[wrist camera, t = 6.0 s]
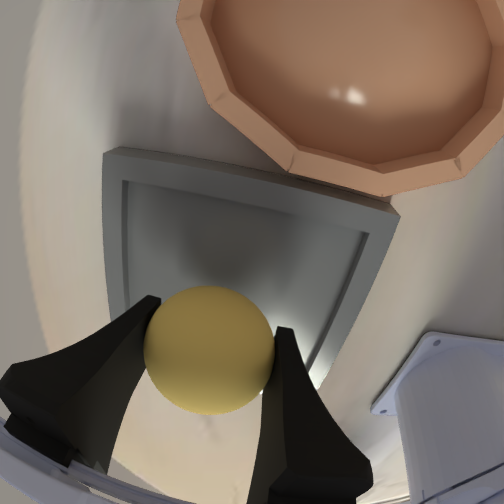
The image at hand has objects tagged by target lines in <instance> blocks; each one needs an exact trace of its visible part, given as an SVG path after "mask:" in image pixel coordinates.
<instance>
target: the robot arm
mask: <svg viewBox="0 0 504 504" xmlns="http://www.w3.org/2000/svg"><path fill="white" fill-rule="evenodd" d="M160 306H161V298H159V297H156V296H152V295H146V296H145V297H144V298H142V299H141V300H140V301H139V302H137V303H136V304H135V305H133V306H132V307H131V308H130V309H128V310H127V311H126V312H124V313H123V314H122V315H120V316H119V317H117V318H116V319H115V320H113V321H112V322H110V323H109V324H107V325H106V326H104V327H103V328H101V329H100V330H98V331H97V332H95V333H94V334H92V335H90V336H88V337H87V338H85V339H83V340H81V341H79V342H77V343H75V344H73V345H71V346H69V347H66V348H64V349H62V350H59V351H57V352H54V353H52V354H49V355H46V356H43V357H40V358H36V359H32V360H28V361H24V362H19V363H15V364H12V365H11V366H10V368H9V369H8V370H7V371H6V373H5V374H4V375H3V377H2V378H1V380H0V398H1V399H2V401H3V402H4V404H5V405H6V407H7V408H8V409H9V411H10V412H11V415H10V416H9V418H8V420H7V421H6V420H4V419H3V418H1V417H0V477H1V478H2V479H4V480H5V481H6V482H8V483H9V484H10V485H12V486H13V487H15V488H16V489H18V490H19V491H21V492H22V493H24V494H25V495H27V496H29V497H30V498H31V499H33V500H35V501H36V502H38V503H40V504H119V503H116V502H113V501H111V500H108V499H106V498H103V497H101V496H98V495H96V494H93V493H92V492H90V490H89V488H88V487H86V486H85V485H87V486H89V487H91V488H94V489H96V490H98V491H101V492H103V493H105V494H108V495H110V496H113V497H115V498H118V499H120V500H123V501H126V502H128V503H131V504H195V503H191V502H187V501H183V500H179V499H176V498H172V497H168V496H165V495H162V494H158V493H155V492H151V491H149V490H146V489H143V488H139V487H137V486H134V485H131V484H128V483H126V482H123V481H120V480H118V479H115V478H112V477H110V476H108V475H107V472H108V468H109V464H110V460H111V456H112V452H113V449H114V445H115V442H116V438H117V435H118V432H119V429H120V426H121V423H122V420H123V417H124V414H125V411H126V409H127V406H128V403H129V400H130V398H131V396H132V394H133V391H134V389H135V388H136V386H137V384H138V382H139V380H140V378H141V376H142V374H143V372H144V370H145V369H146V365H145V360H144V352H143V348H144V337H145V333H146V329H147V326H148V324H149V322H150V320H151V318H152V316H153V315H154V313H155V312H156V310H157V309H158V308H159V307H160ZM436 340H437V341H436ZM274 342H275V358H274V364H273V369H272V372H271V375H270V378H269V380H268V382H267V383H266V385H265V387H264V388H263V393H262V414H261V429H260V437H259V443H258V449H257V454H256V460H255V465H254V471H253V476H252V481H251V485H250V490H249V495H248V499H247V503H246V504H356V498H357V497H358V496H360V495H362V494H363V493H365V492H367V491H368V490H369V489H370V488H371V487H372V486H373V484H374V483H373V473H372V468H371V464H370V460H369V459H368V458H367V457H366V456H365V455H364V454H363V453H362V452H361V451H360V450H359V449H358V448H357V447H356V446H355V445H354V444H353V443H352V442H351V441H350V440H349V439H348V437H347V436H346V435H345V434H344V433H343V431H342V430H341V429H340V427H339V426H338V425H337V423H336V422H335V421H334V419H333V418H332V416H331V415H330V413H329V412H328V410H327V409H326V407H325V405H324V404H323V402H322V400H321V398H320V397H319V395H318V393H317V391H316V389H315V387H314V385H313V383H312V381H311V378H310V376H309V374H308V372H307V369H306V367H305V364H304V361H303V359H302V356H301V353H300V350H299V347H298V344H297V341H296V337H295V333H294V330H293V329H292V328H287V327H282V326H277V329H276V332H275V335H274ZM370 412H371V414H373V415H390V416H397V417H398V423H399V428H400V433H401V439H402V445H403V451H404V457H405V463H406V470H407V478H408V485H409V494H410V502H411V504H504V341H499V340H490V339H483V338H475V337H468V336H460V335H453V334H447V333H440V332H427V333H426V334H424V336H423V337H422V338H421V340H420V341H419V343H418V344H417V346H416V347H415V349H414V350H413V352H412V353H411V355H410V356H409V357H408V359H407V360H406V362H405V363H404V365H403V366H402V367H401V369H400V370H399V371H398V373H397V374H396V376H395V377H394V378H393V380H392V381H391V382H390V384H389V385H388V386H387V387H386V389H385V390H384V391H383V393H382V394H381V395H380V396H379V398H378V399H377V400H376V401H375V403H374V404H373V405H372V406H371V408H370ZM78 481H79V482H81V483H83V484H85V485H83V484H81V483H79V482H78Z"/></svg>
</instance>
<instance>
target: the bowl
mask: <svg viewBox="0 0 504 504" xmlns="http://www.w3.org/2000/svg"><path fill="white" fill-rule="evenodd" d="M176 20H178V21H176V23H177V25H178V28H179V30H180V33H181V36H182V38H183V41H184V43H185V46H186V48H187V51H188V54H189V56H190V59H191V61H192V64H193V66H194V69H195V72H196V74H197V77H198V79H199V82H200V84H201V87H202V90H203V92H204V95H205V97H206V100H207V103H208V105H211V106H210V107H211V108H212V109H213V110H214V111H216V112H217V113H218V114H219V115H221V116H222V117H223V118H224V119H226V120H227V121H228V122H229V123H231V124H232V125H233V126H234V127H235V128H237V129H238V130H239V131H240V132H241V133H243V134H244V135H245V136H246V137H247V138H249V139H250V140H251V141H252V142H253V143H255V144H256V145H257V146H258V147H259V148H260V149H262V150H263V151H264V152H265V153H266V154H267V155H268V156H270V157H271V158H272V159H273V160H274V161H275V162H276V163H278V164H279V165H280V166H281V167H282V168H283V169H284V170H285V171H287V170H288V169H289V171H288V172H289V173H293V174H297V175H301V176H305V177H309V178H313V179H317V180H321V181H325V182H329V183H333V184H337V185H340V186H344V187H348V188H351V189H355V190H358V191H362V192H365V193H369V194H372V195H376V196H379V197H381V196H383V197H386V196H390V195H394V194H398V193H402V192H406V191H410V190H415V189H419V188H423V187H427V186H431V185H435V184H440V183H444V182H448V181H452V180H457V179H461V178H462V177H465V176H466V175H467V174H468V173H469V172H470V171H471V169H472V168H473V167H474V166H475V165H476V164H477V163H478V162H479V161H480V160H481V159H482V158H483V157H484V156H485V155H486V154H487V153H488V152H489V151H490V149H491V148H492V147H493V146H494V145H495V144H496V143H497V142H498V141H499V140H500V139H501V137H502V136H503V135H504V0H180V3H179V8H178V12H177V16H176Z"/></svg>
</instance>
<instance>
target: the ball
mask: <svg viewBox="0 0 504 504" xmlns="http://www.w3.org/2000/svg"><path fill="white" fill-rule="evenodd" d="M143 352H144V360H145V365H146V368H147V371H148V374H149V376H150V378H151V380H152V382H153V383H154V385H155V386H156V388H157V389H158V390H159V391H160V392H161V394H162V395H163V396H164V397H165V398H167V399H168V400H169V401H171V402H172V403H173V404H175V405H176V406H178V407H180V408H182V409H184V410H187V411H190V412H193V413H197V414H204V415H217V414H224V413H228V412H231V411H234V410H237V409H239V408H241V407H243V406H245V405H246V404H248V403H249V402H250V401H252V400H253V399H254V398H255V397H256V396H257V395H258V394H259V393H260V392H261V391H262V390H263V388H264V387H265V385H266V383H267V382H268V380H269V378H270V375H271V372H272V369H273V364H274V358H275V342H274V336H273V333H272V330H271V327H270V325H269V323H268V321H267V319H266V318H265V316H264V315H263V313H262V312H261V310H260V309H259V308H258V307H257V306H256V305H255V304H254V303H253V302H252V301H250V300H249V299H248V298H246V297H245V296H243V295H242V294H240V293H238V292H236V291H233V290H231V289H228V288H225V287H220V286H196V287H192V288H188V289H185V290H183V291H180V292H178V293H176V294H175V295H173V296H172V297H170V298H168V299H167V300H166V301H165V302H164V303H163V304H162V305H161V306H160V307H159V308H158V309H157V310H156V312H155V313H154V315H153V316H152V318H151V320H150V322H149V324H148V326H147V329H146V333H145V337H144V348H143Z"/></svg>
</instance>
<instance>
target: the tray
mask: <svg viewBox="0 0 504 504" xmlns="http://www.w3.org/2000/svg"><path fill="white" fill-rule="evenodd" d="M400 217H401V216H400V215H399V214H398V213H397V211H396V210H395V209H394V208H393V206H392V205H391V204H389V203H385V202H382V201H379V200H375V199H372V198H368V197H365V196H361V195H358V194H354V193H351V192H347V191H343V190H339V189H336V188H332V187H328V186H324V185H320V184H316V183H312V182H308V181H304V180H300V179H296V178H292V177H287V176H283V175H279V174H274V173H270V172H265V171H261V170H256V169H251V168H246V167H241V166H236V165H231V164H226V163H221V162H216V161H210V160H205V159H199V158H193V157H187V156H181V155H175V154H169V153H162V152H155V151H148V150H141V149H133V148H126V147H117V148H115V149H112V150H110V151H107V152H105V153H103V163H102V223H103V245H104V261H105V273H106V284H107V294H108V302H109V310H110V318H111V322H112V321H113V320H115V319H116V318H117V317H119V316H120V315H122V314H123V313H124V312H126V311H127V310H128V309H130V308H131V307H132V306H133V305H135V304H136V303H137V302H139V301H140V300H141V299H142V298H144V297H145V296H146V295H152V296H156V297H159V298H161V305H162V304H163V303H164V302H165V301H166V300H167V299H168V298H170V297H172V296H173V295H175V294H176V293H178V292H180V291H183V290H185V289H188V288H192V287H196V286H220V287H225V288H228V289H231V290H233V291H236V292H238V293H240V294H242V295H243V296H245V297H246V298H248V299H249V300H250V301H252V302H253V303H254V304H255V305H256V306H257V307H258V308H259V309H260V310H261V312H262V313H263V315H264V316H265V318H266V319H267V321H268V323H269V325H270V327H271V330H272V333H273V336H274V335H275V332H276V329H277V326H282V327H287V328H292V329H293V330H294V333H295V337H296V341H297V344H298V347H299V350H300V353H301V356H302V359H303V361H304V364H305V367H306V369H307V372H308V374H309V376H310V378H311V381H312V383H313V385H314V387H315V389H316V391H317V390H318V388H319V387H320V385H321V383H322V382H323V380H324V378H325V376H326V375H327V373H328V371H329V369H330V368H331V366H332V364H333V362H334V360H335V359H336V357H337V355H338V353H339V351H340V349H341V348H342V346H343V344H344V342H345V340H346V338H347V336H348V334H349V332H350V330H351V328H352V326H353V324H354V322H355V320H356V318H357V316H358V314H359V312H360V310H361V308H362V306H363V304H364V302H365V300H366V298H367V295H368V293H369V291H370V289H371V287H372V285H373V282H374V280H375V278H376V276H377V273H378V271H379V269H380V267H381V264H382V262H383V260H384V257H385V255H386V252H387V250H388V248H389V245H390V243H391V240H392V238H393V235H394V233H395V230H396V227H397V225H398V222H399V220H400ZM262 393H263V390H262V391H261V392H260V393H259V394H262Z"/></svg>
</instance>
